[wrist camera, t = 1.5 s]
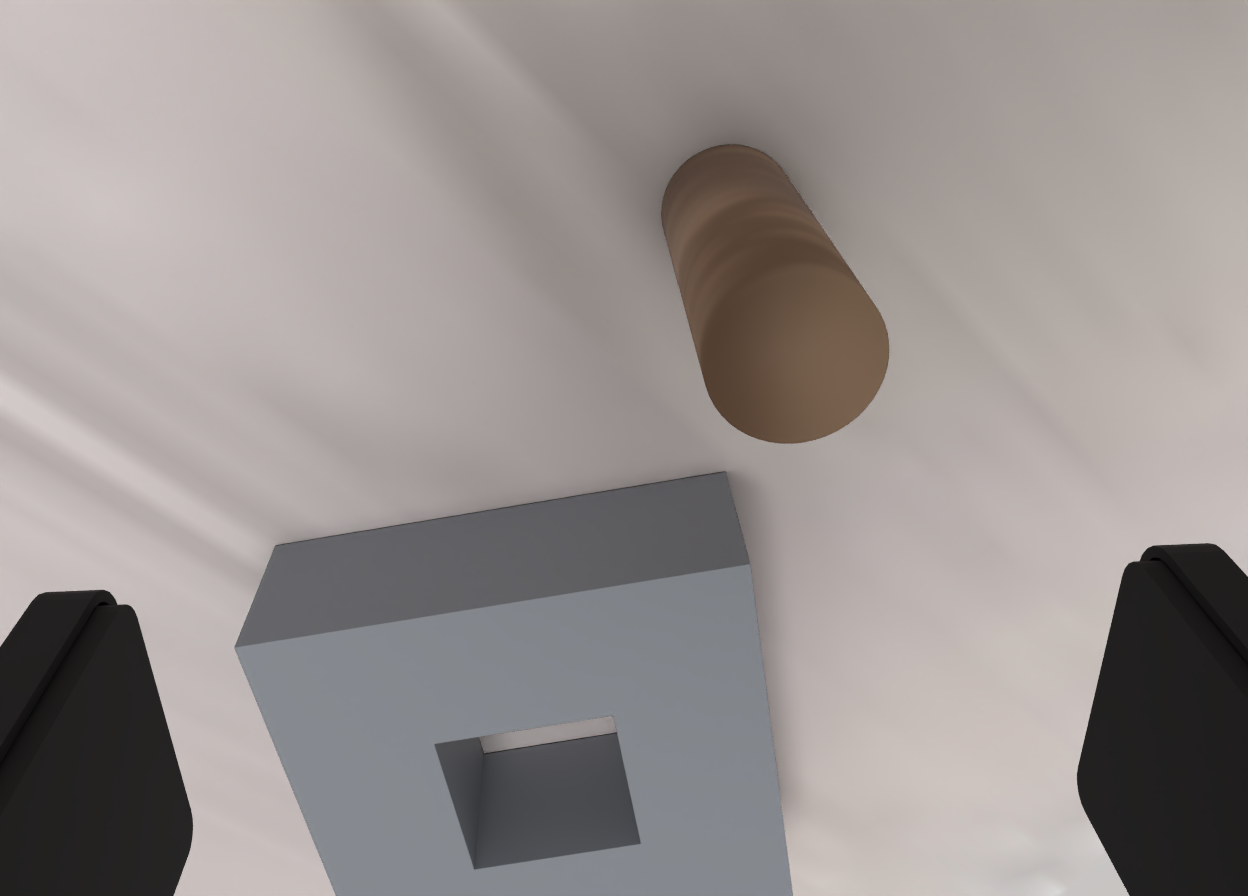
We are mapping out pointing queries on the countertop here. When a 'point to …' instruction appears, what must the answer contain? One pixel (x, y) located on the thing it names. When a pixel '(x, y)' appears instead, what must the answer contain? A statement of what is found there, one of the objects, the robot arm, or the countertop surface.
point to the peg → (769, 300)
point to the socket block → (527, 700)
